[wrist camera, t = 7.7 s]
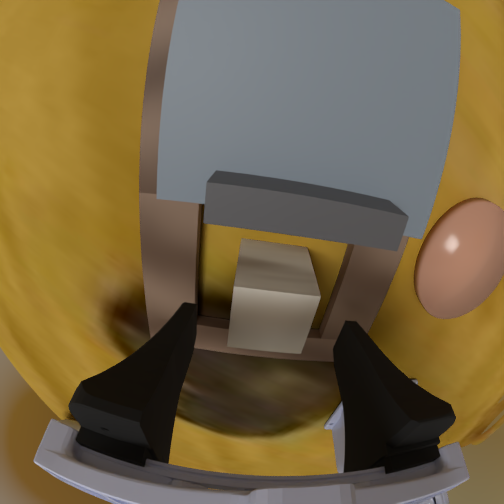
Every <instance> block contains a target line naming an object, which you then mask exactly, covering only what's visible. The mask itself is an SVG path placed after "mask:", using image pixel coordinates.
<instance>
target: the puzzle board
mask: <svg viewBox="0 0 504 504" xmlns="http://www.w3.org/2000/svg"><path fill="white" fill-rule="evenodd" d="M178 1H179V0H160V2H159V7H158V11H157V16H156V21H155V25H154V31H153V36H152V42H151V47H150V54H149V60H148V67H147V75H146V83H145V91H144V101H143V112H142V126H141V143H140V174H139V203H140V235H141V253H142V267H143V278H144V289H145V298H146V307H147V315H148V322H149V329H150V336H151V338H152V337H153V336H154V335H155V334H156V333H157V332H158V331H159V330H160V329H161V328H162V327H163V326H164V325H165V324H166V323H167V321H168V320H169V319H170V318H171V317H172V316H173V315H174V313H175V312H176V311H177V310H178V308H179V307H180V306H181V304H182V303H184V302H188V303H194V304H197V306H198V272H199V249H200V230H201V214H202V204H199V203H191V202H182V201H172V200H162V199H157V166H158V146H159V131H160V119H161V108H162V98H163V89H164V81H165V73H166V66H167V59H168V53H169V47H170V41H171V35H172V30H173V24H174V19H175V14H176V10H177V5H178ZM408 238H409V237H408V236H402V239H401V242H400V245H399V248H398V250H397V251H391V250H385V249H379V248H373V247H366V246H360V245H354V244H348V246H347V249H346V252H345V256H344V259H343V262H342V265H341V268H340V271H339V274H338V277H337V280H336V283H335V286H334V289H333V292H332V295H331V298H330V301H329V304H328V306H327V309H326V312H325V315H324V317H323V320H322V323H321V325H320V328H319V329H310V330H309V333H308V336H307V339H306V341H305V344H304V347H303V349H302V352H301V354H294V353H282V352H270V351H260V350H251V349H243V348H234V347H227V343H228V334H229V325H230V320H227V319H220V318H213V317H206V316H200V315H197V335H196V340H195V345H194V348H199V349H206V350H212V351H219V352H226V353H234V354H242V355H250V356H259V357H269V358H280V359H293V360H309V361H330V362H334V358H333V347H334V345H335V343H336V340H337V338H338V336H339V334H340V332H341V329H342V327H343V325H344V322H345V320H346V321H357V322H358V324H359V325H360V326H361V327H362V328H363V330H364V331H365V332H366V333H367V334H368V332H369V330H370V328H371V326H372V324H373V322H374V320H375V317H376V315H377V313H378V311H379V309H380V307H381V305H382V303H383V300H384V298H385V296H386V294H387V291H388V289H389V287H390V284H391V282H392V280H393V277H394V275H395V273H396V270H397V268H398V265H399V263H400V260H401V257H402V255H403V252H404V249H405V247H406V244H407V241H408Z"/></svg>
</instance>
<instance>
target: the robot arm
mask: <svg viewBox="0 0 504 504" xmlns="http://www.w3.org/2000/svg"><path fill="white" fill-rule="evenodd" d="M196 335H197V304H194V303H188V302H184V303H182V304H181V306H180V307H179V308H178V310H177V311H176V312H175V313H174V315H173V316H172V317H171V318H170V319H169V320H168V321H167V323H166V324H165V325H164V326H163V327H162V328H161V329H160V330H159V331H158V332H157V333H156V334H155V335H154V336H153V337H152V338H151V339H150V340H149V341H148V342H146V343H145V344H144V345H143V346H142V347H141V348H139V349H138V350H137V351H135V352H134V353H133V354H131V355H130V356H129V357H127V358H126V359H124V360H123V361H121V362H120V363H118V364H116V365H115V366H113V367H111V368H109V369H107V370H106V371H104V372H102V373H100V374H97V375H95V376H93V377H90V378H88V379H86V380H83V381H81V383H80V384H79V386H78V387H77V389H76V391H75V393H74V395H73V397H72V399H71V401H70V403H69V410H70V412H71V413H72V415H73V416H74V417H75V419H76V420H77V421H78V423H79V424H80V425H81V427H80V430H79V432H78V431H77V430H76V429H74V428H72V427H70V426H68V425H66V424H64V423H62V422H59V421H57V420H55V419H51V421H50V423H49V425H48V427H47V429H46V432H45V434H44V436H43V439H42V441H41V444H40V446H39V448H38V451H37V453H36V456H35V458H34V463H36V464H37V465H39V466H40V467H41V468H43V469H44V470H46V471H47V472H49V473H50V474H52V475H53V476H55V477H56V478H58V479H59V480H61V481H63V482H66V483H67V484H69V485H71V486H73V487H76V488H78V489H80V490H82V491H84V492H87V493H89V494H91V495H94V496H96V497H98V498H101V499H103V500H106V501H108V502H111V503H114V504H449V499H448V494H447V491H448V490H450V489H452V488H454V487H456V486H458V485H459V484H461V483H463V482H464V481H466V480H468V479H469V474H468V471H467V467H466V463H465V460H464V457H463V454H462V451H461V448H460V445H459V442H455V443H452V444H449V445H446V446H443V447H441V448H439V449H438V446H437V444H439V443H440V440H439V436H440V435H441V434H443V433H444V432H445V431H446V430H447V429H448V428H450V427H451V426H452V425H453V423H454V422H455V419H456V416H455V414H454V411H453V409H452V406H451V404H449V403H447V402H445V401H443V400H441V399H439V398H437V397H435V396H434V395H432V394H430V393H429V392H427V391H426V390H424V389H423V388H421V387H420V386H418V385H417V384H418V381H417V380H411V379H409V378H408V377H407V376H406V375H405V374H404V373H402V372H401V371H400V370H399V369H398V368H397V367H396V366H395V365H394V364H393V363H392V362H391V361H390V360H389V359H388V358H387V357H386V356H385V354H384V353H383V352H382V351H381V350H380V349H379V348H378V346H377V345H376V344H375V343H374V342H373V340H372V339H371V338H370V337H369V336H368V334H367V333H366V332H365V331H364V330H363V328H362V327H361V326H360V325H359V324H358V322H357V321H346V320H345V322H344V325H343V327H342V329H341V332H340V334H339V336H338V338H337V340H336V343H335V345H334V347H333V358H334V367H335V372H336V376H337V381H338V385H339V390H340V395H341V399H342V402H341V403H340V405H339V406H338V407H337V409H336V410H335V412H334V413H333V414H332V416H331V417H330V418H329V420H328V421H327V422H326V424H325V425H324V429H332V434H333V441H334V449H335V457H336V465H337V470H338V473H337V474H327V475H312V476H254V475H239V474H229V473H220V472H212V471H205V470H198V469H192V468H186V467H181V466H176V465H171V464H168V463H169V454H170V447H171V440H172V433H173V427H174V421H175V415H176V410H177V405H178V400H179V395H180V392H181V388H182V385H183V382H184V379H185V376H186V373H187V370H188V367H189V364H190V360H191V357H192V354H193V350H194V345H195V340H196ZM208 488H211V489H208ZM213 489H219V490H213Z"/></svg>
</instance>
